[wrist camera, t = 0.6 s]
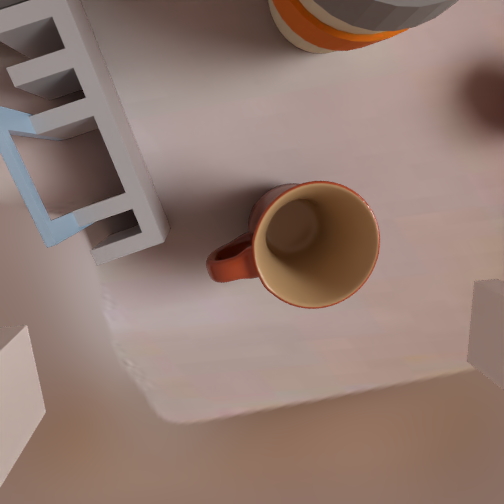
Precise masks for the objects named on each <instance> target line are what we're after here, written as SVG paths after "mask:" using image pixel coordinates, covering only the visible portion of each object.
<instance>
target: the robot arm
mask: <svg viewBox="0 0 504 504" xmlns="http://www.w3.org/2000/svg"><path fill="white" fill-rule="evenodd" d="M467 362H468V363H470V364H471V365H472V366H474V367H475V368H476V369H477V370H479V371H480V372H481V373H482V374H484V375H485V376H486V377H488V378H489V379H490V380H491V381H493V382H494V383H495V384H496V385H498V386H499V387H500V388H502V389H503V390H504V282H503V281H501V280H499V279H491V280H481V281H474V289H473V300H472V311H471V322H470V333H469V344H468V355H467ZM45 412H46V411H45V406H44V402H43V397H42V392H41V388H40V383H39V378H38V374H37V369H36V364H35V360H34V355H33V350H32V346H31V341H30V337H29V332H28V327H27V325H20V326H10V327H0V487H1V485H2V484H3V482H4V480H5V479H6V477H7V475H8V473H9V472H10V470H11V469H12V467H13V465H14V464H15V462H16V460H17V459H18V457H19V455H20V454H21V452H22V450H23V449H24V447H25V445H26V444H27V442H28V440H29V439H30V437H31V436H32V434H33V432H34V430H35V429H36V427H37V426H38V424H39V422H40V421H41V419H42V417H43V416H44V414H45Z"/></svg>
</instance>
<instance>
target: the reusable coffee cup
mask: <svg viewBox="0 0 504 504" xmlns="http://www.w3.org/2000/svg"><path fill="white" fill-rule="evenodd" d="M457 1H458V0H268V3H269V8H270V12H271V15H272V17H273V20H274V22H275V24H276V26H277V27H278V29H279V31H280V32H281V33H282V34H283V36H284V37H285V38H286V39H287V40H288V41H289V42H291V43H292V44H293V45H295V46H296V47H298V48H300V49H302V50H304V51H308V52H312V53H329V52H334V51H348V50H353V49H357V48H362V47H365V46H368V45H370V44H373V43H376V42H379V41H382V40H385V39H388V38H390V37H393V36H395V35H397V34H399V33H401V32H404V31H406V30H408V29H409V28H412V27H416V26H418V25H420V24H422V23H425V22H427V21H429V20H431V19H433V18H436V17H437V16H438V15H440V14H441V13H442V12H444V11H445V10H447V9H448V8H449V7H451V6H452V5H453V4H455V3H456V2H457Z"/></svg>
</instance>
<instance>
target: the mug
mask: <svg viewBox="0 0 504 504" xmlns="http://www.w3.org/2000/svg"><path fill="white" fill-rule="evenodd" d="M379 248H380V234H379V228H378V224H377V221H376V218H375V216H374V213H373V211H372V210H371V208H370V207H369V205H368V204H367V203H366V201H365V200H364V199H363V198H362V197H361V196H360V195H358V194H357V193H356V192H354V191H353V190H351V189H350V188H348V187H346V186H343V185H341V184H338V183H334V182H329V181H312V182H306V183H302V184H295V183H293V184H284V185H280V186H278V187H275V188H273V189H271V190H270V191H268V192H267V193H266V194H264V195H263V196H262V197H261V198H260V199H259V200H258V202H257V203H256V204H255V205H254V206H253V208H252V211H251V214H250V217H249V222H248V232H247V233H245V234H242V235H241V236H239V237H237V238H236V239H234V240H233V241H231V242H230V243H228V244H226V245H224V246H222V247H220V248H218V249H216V250H215V251H213V252H212V253H211V254H210V255H209V256H208V258H207V261H206V267H207V270H208V273H209V276H210V277H211V279H212V280H213V281H215V282H221V283H222V282H229V281H234V280H238V279H252V278H257V277H259V278H260V280H261V282H262V284H263V285H264V287H265V288H266V289H267V290H268V291H269V292H270V293H272V294H273V295H274V296H275V297H277V298H278V299H280V300H282V301H284V302H285V303H288V304H290V305H293V306H296V307H301V308H308V309H316V308H324V307H328V306H332V305H335V304H337V303H340V302H342V301H344V300H345V299H347V298H349V297H350V296H352V295H353V294H354V293H355V292H357V291H358V290H359V289H360V288H361V287H362V286H363V284H364V283H365V282H366V281H367V279H368V278H369V276H370V275H371V273H372V271H373V269H374V267H375V264H376V261H377V258H378V254H379Z"/></svg>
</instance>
